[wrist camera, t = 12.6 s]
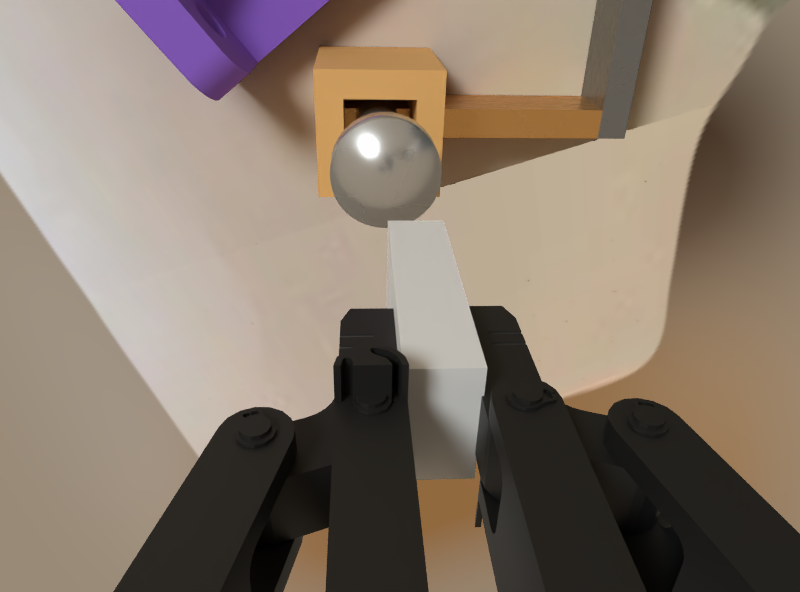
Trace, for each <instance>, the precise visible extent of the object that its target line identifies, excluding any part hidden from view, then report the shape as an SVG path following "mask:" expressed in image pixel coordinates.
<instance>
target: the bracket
mask: <svg viewBox="0 0 800 592" xmlns="http://www.w3.org/2000/svg"><path fill="white" fill-rule="evenodd" d="M115 1H116V2H117V3H118V4H119V5H120V6H121V7H122V8H123V10H124V11H125V12H126V13H127V14H128V15H129V16H130V17H131V18H132V19H133V20H134V22H135V23H136V24H137V25H138V26H139V27H140V28H141V29H142V30H143V31H144V33H145V34H146V35H147V36H148V37H149V38H150V39H151V40H152V41H153V42H154V43H155V45H156V46H157V47H158V48H159V49H160V50H161V51H162V52H163V53H164V54H165V56H166V57H167V58H168V59H169V60H170V61H171V62H172V63H173V64H174V65H175V67H176V68H177V69H178V70H179V71H180V72H181V73H182V74H183V75H184V76H185V77H186V79H187V80H188V81H189V82H190V83H191V84H192V85H193V86H195V87H196V88H197V89H198V90H199V91H200V92H202V93H203V94H204V95H206V96H207V97H209V98H211V99H213V100H220V99H221V98H222V97H223V96H224V95H225V94H227V93H228V92H229V91H230V90H231V89H232V88H233V87H235V86H236V85H237V84H238V83H239V82H240V81H241V80H243V79H244V78H245V77H246V76H247V75H248V74H249V73H251V71H252V70H253V69H254V67H255V66H256V65H257V63H258V62H259V61H260V60H262V59H263V58H264V57H265V56H266V55H267V54H268V53H270V52H271V51H272V50H273V49H274V48H275V47H276V46H278V45H279V44H280V43H281V42H282V41H283V40H284V39H286V38H287V37H288V36H289V35H290V34H291V33H292V32H294V31H295V30H296V29H297V28H298V27H299V26H300V25H302V24H303V23H304V22H305V21H306V20H307V19H308V18H310V17H311V16H312V15H313V14H314V13H315V12H316V11H318V10H319V9H320V8H321V7H322V6H323V5H324V4H326V3H327V2H328V1H329V0H115Z"/></svg>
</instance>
